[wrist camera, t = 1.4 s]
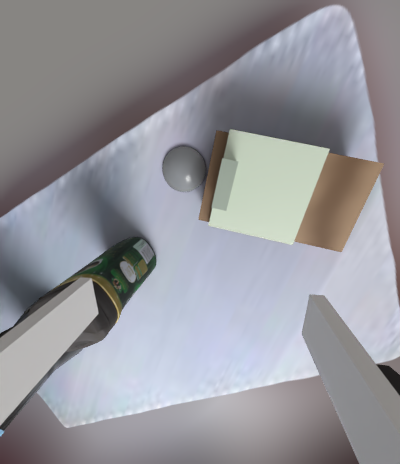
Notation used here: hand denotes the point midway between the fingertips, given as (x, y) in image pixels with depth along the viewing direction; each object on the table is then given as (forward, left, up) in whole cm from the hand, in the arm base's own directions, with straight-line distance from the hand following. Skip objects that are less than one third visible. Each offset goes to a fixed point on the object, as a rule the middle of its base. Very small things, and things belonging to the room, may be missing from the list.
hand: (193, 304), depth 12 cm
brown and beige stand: (+7, +6, -23) cm, 25 cm away
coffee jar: (-14, -12, -23) cm, 29 cm away
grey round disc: (-7, +6, -23) cm, 25 cm away
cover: (+5, +6, -15) cm, 17 cm away
